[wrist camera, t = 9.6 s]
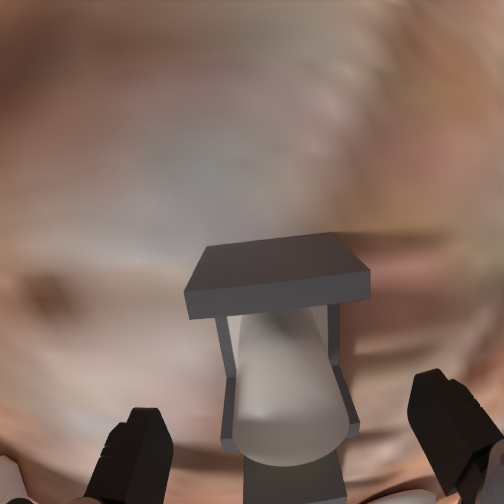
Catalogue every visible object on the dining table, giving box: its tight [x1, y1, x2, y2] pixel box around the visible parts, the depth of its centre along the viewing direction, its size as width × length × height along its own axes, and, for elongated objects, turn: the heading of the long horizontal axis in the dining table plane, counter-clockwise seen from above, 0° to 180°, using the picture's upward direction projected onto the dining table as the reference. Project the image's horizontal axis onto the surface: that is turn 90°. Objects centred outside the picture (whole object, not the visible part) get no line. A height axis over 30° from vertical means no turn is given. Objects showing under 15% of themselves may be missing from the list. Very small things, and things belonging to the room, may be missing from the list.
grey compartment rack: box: [184, 232, 370, 504], centre depth 16 cm, size 22×6×6 cm, turn 7°
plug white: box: [232, 307, 349, 466], centre depth 12 cm, size 4×4×7 cm
